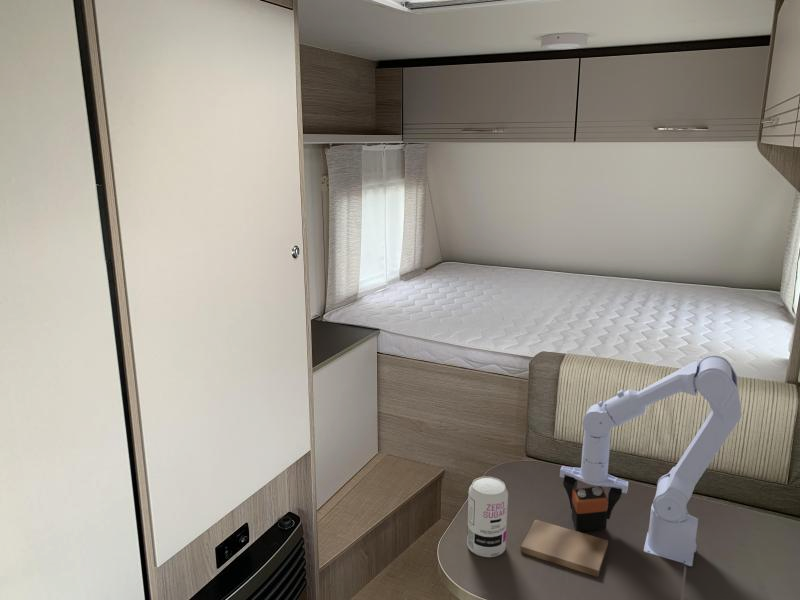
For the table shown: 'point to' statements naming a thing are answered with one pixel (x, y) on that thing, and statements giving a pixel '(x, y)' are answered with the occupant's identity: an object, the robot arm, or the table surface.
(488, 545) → the supplement can
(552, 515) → the table surface
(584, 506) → the battery
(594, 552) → the wooden flat block
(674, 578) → the table surface
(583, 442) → the robot arm
